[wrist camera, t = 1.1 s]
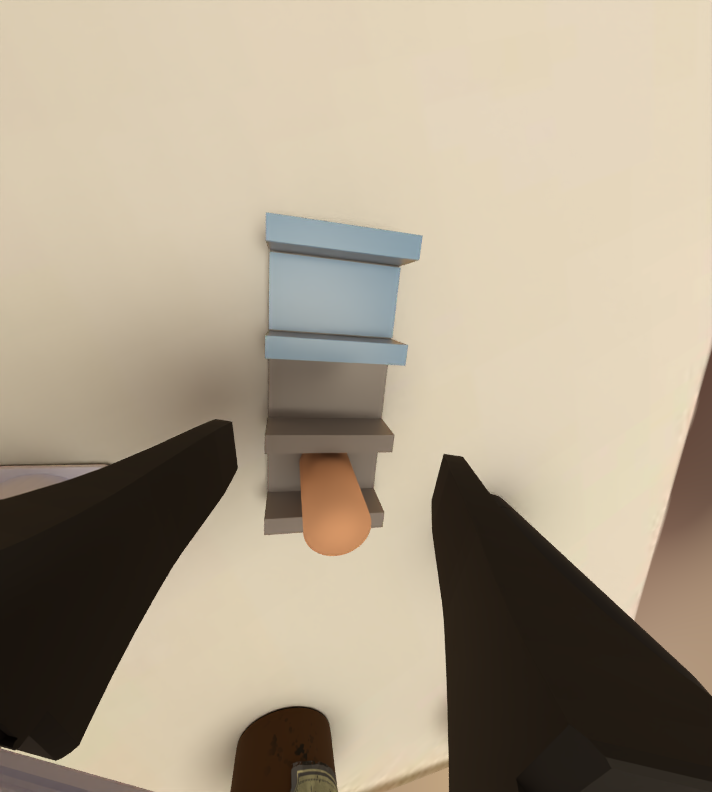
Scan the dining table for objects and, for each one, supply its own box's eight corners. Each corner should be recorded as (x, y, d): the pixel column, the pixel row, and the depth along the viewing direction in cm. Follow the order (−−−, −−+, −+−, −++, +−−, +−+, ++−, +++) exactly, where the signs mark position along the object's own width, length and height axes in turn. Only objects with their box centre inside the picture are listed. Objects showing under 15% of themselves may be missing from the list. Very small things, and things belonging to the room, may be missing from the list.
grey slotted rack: (368, 497, 26) (383, 533, 22) (268, 501, 24) (263, 542, 20) (396, 243, 20) (423, 229, 16) (271, 226, 19) (265, 205, 15)
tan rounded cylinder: (346, 483, 24) (367, 552, 17) (298, 485, 23) (301, 558, 16) (350, 440, 23) (374, 496, 16) (300, 440, 22) (304, 499, 15)
